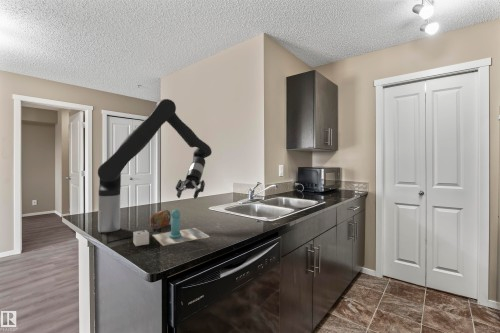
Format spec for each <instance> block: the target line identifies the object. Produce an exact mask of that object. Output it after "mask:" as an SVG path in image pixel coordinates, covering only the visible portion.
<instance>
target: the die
mask: <svg viewBox="0 0 500 333" xmlns="http://www.w3.org/2000/svg"><path fill="white" fill-rule="evenodd" d="M132 243H133V244H134V246H135V247H139V246H144V245H149V244H150V232H149V231H148V230H147V229H144V230H137V231H133V232H132Z"/></svg>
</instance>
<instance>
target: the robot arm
mask: <svg viewBox="0 0 500 333" xmlns="http://www.w3.org/2000/svg"><path fill="white" fill-rule="evenodd" d="M176 106H177V105H176V104H175V101H173V100H172V99H169V98H163V99H161V100H158V101H157V103H156V104H155V107H154V110H153V111H152V112H151V113H150V115H149V116H148V117H147V118H145V119H144V120H143V121H142V122H140V123H139V124H138V125H136V127H135V128H134V129H133V130H131V132H130V133H129V134H128V135H127V136H126V138H125V139H124V140H123V141H122V143H121V144H120V146H119V147H118V148H117V149H116V151H115V152H114V153H113V154H112V155H111V156H110V157H109V158H108V159H106V160H105V161H104V162H103V163H102V164H101V165H99V167H98V169H97V176H98V178H99V187H98V210H97V231H98V233H110V232H111V233H112V232H116V231H119V230H120V229H121V188H122V187H121V186H122V185H121V184H122V182H121V181H122V171H123V170H124V169H125V167H126V166H127V164H128V163H129V162H130V161H131V160H132V159H134V157H136V156H137V155H138V154H139V153H140V152H141V151H143V149H144V148H145V147H146V146H147V145H148V144H149V143H150V142H151V140H152V139H153V137H155V135H156V134H157V132H158V131H159V130H160V128H161V127H162V126H164V124H165V123H168V124H169V125H170V126H171V127H172V128H173V129H174V131H175V132H177V134H178V135H179V136H180V138H182V140H183V141H184V142H185V143H186V144H187V146H188V147H189V148H195V150H194V151H193V156H192V162H191V165H190V167H189V168H188V171H187V174H186V176H185V180H182V179H178V181H177V184H176V185H175V191H176V192H177V193H176V196H177V198H178V199H180V198H181V196H182V193H183V191H186V190H189V189H190V190H194V189H195V190H194V194H193V199H195V200H196V199H197V198H198V196H199V195H200V193H203V192H204V190H205V186H206V182H205V180H204V179H202V177H203V173H204V168H205V166H206V160H205V159H206V158H207V157H210V156H211V155H212V151H213V150H212V148H211V146H210V145H209V144H207V143H206V142H205V141H203V140H202V139H200V138H199V137H198V136H197V135H196V133H195V132H194V131H193V130H192V129H191V127H189V126H188V125H187V124H185V123H184V122H183V121H182V120H181V118H180V117H179V116H178V115H177V113H176V109H177V107H176ZM201 179H202V180H201ZM198 186H199V187H198Z"/></svg>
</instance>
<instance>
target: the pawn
mask: <svg viewBox="0 0 500 333" xmlns="http://www.w3.org/2000/svg"><path fill="white" fill-rule="evenodd" d="M180 216H181V212H180V210H179V209H173V210H172V211H171V212H170V232H171V233H170V234H169V238H173V239H175V238H180V237H181V233H180V230H181V217H180Z"/></svg>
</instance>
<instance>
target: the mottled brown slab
mask: <svg viewBox="0 0 500 333" xmlns="http://www.w3.org/2000/svg"><path fill="white" fill-rule="evenodd" d="M169 224H171V212H170V210H168V209H163V210H160V211H157V212H155V213H153V214H152V215H151V216H150V227H151V229H152V230H156V231H157V230H159V229H162V228H163V227H168V226H169Z"/></svg>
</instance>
